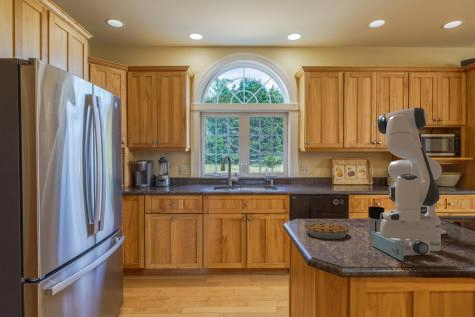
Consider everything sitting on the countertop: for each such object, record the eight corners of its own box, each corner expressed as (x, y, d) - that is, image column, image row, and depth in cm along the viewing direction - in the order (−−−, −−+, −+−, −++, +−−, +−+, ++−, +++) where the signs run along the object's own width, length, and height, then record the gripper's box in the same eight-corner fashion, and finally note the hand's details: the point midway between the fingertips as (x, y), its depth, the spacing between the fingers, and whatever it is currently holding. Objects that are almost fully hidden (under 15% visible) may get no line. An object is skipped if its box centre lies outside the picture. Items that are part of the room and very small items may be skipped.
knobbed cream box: (408, 245, 137) (408, 229, 137) (434, 256, 122) (434, 238, 122) (375, 246, 136) (375, 230, 136) (397, 258, 120) (397, 240, 120)
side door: (373, 245, 137) (373, 231, 137) (403, 261, 116) (403, 244, 116) (369, 245, 136) (369, 231, 136) (398, 261, 116) (398, 244, 116)
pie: (352, 241, 145) (352, 231, 145) (306, 239, 149) (306, 229, 149) (345, 230, 166) (345, 221, 166) (305, 228, 171) (305, 220, 171)
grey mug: (381, 235, 156) (381, 206, 156) (394, 242, 142) (394, 211, 142) (364, 234, 156) (364, 206, 156) (375, 242, 142) (375, 211, 142)
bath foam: (423, 246, 137) (423, 202, 136) (441, 249, 132) (441, 203, 132) (420, 249, 131) (420, 204, 131) (439, 252, 127) (439, 205, 127)
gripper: (431, 214, 122) (431, 248, 122) (378, 212, 124) (378, 246, 124) (439, 217, 115) (439, 253, 115) (383, 215, 118) (383, 250, 118)
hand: (407, 249), depth 120 cm, fingers closed
